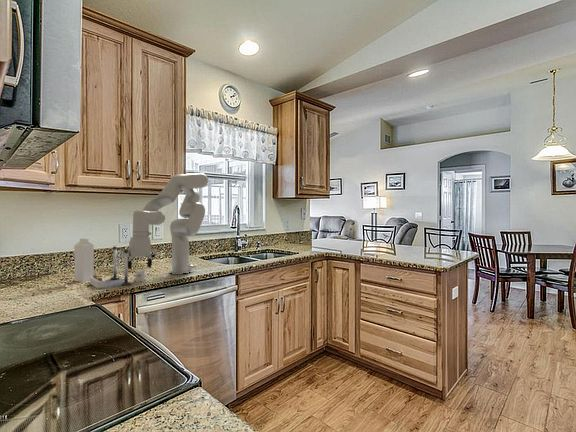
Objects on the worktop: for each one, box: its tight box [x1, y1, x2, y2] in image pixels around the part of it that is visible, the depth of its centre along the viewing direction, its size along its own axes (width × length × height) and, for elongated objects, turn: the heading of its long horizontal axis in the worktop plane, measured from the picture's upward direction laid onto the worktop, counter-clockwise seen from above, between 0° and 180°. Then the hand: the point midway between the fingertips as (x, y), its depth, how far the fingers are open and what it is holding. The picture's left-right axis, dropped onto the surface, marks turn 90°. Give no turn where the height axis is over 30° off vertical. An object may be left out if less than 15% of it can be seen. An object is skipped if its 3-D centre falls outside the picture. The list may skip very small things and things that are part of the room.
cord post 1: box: [110, 245, 120, 280], centre depth 167 cm, size 4×4×17 cm
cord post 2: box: [121, 249, 132, 287], centre depth 155 cm, size 4×4×17 cm
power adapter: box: [135, 269, 148, 283], centre depth 168 cm, size 11×5×6 cm, turn 16°
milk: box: [73, 238, 95, 283], centre depth 165 cm, size 6×6×22 cm
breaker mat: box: [87, 274, 134, 291], centre depth 158 cm, size 15×21×5 cm
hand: (139, 267), depth 167 cm, fingers open, 9 cm apart
